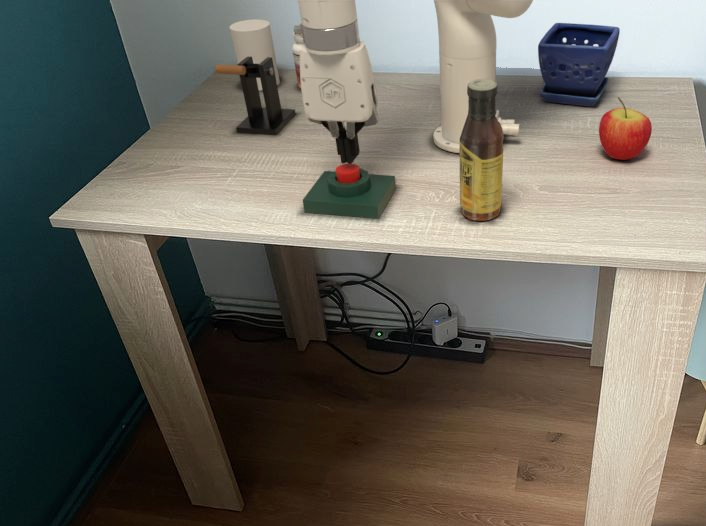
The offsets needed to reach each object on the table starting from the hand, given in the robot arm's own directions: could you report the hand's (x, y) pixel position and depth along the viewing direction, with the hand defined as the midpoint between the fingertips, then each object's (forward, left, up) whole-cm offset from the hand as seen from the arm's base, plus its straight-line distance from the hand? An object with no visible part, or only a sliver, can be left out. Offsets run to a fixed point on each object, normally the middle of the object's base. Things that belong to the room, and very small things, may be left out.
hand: (349, 159), depth 111 cm
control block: (0, +1, -7) cm, 7 cm away
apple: (-41, -21, -7) cm, 46 cm away
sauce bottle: (-21, +2, -7) cm, 22 cm away
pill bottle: (+24, -46, -7) cm, 53 cm away
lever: (+26, -22, +4) cm, 34 cm away
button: (0, +1, -3) cm, 3 cm away
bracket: (+26, -26, -7) cm, 38 cm away
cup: (+36, -46, -7) cm, 59 cm away
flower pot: (-31, -47, -7) cm, 57 cm away
